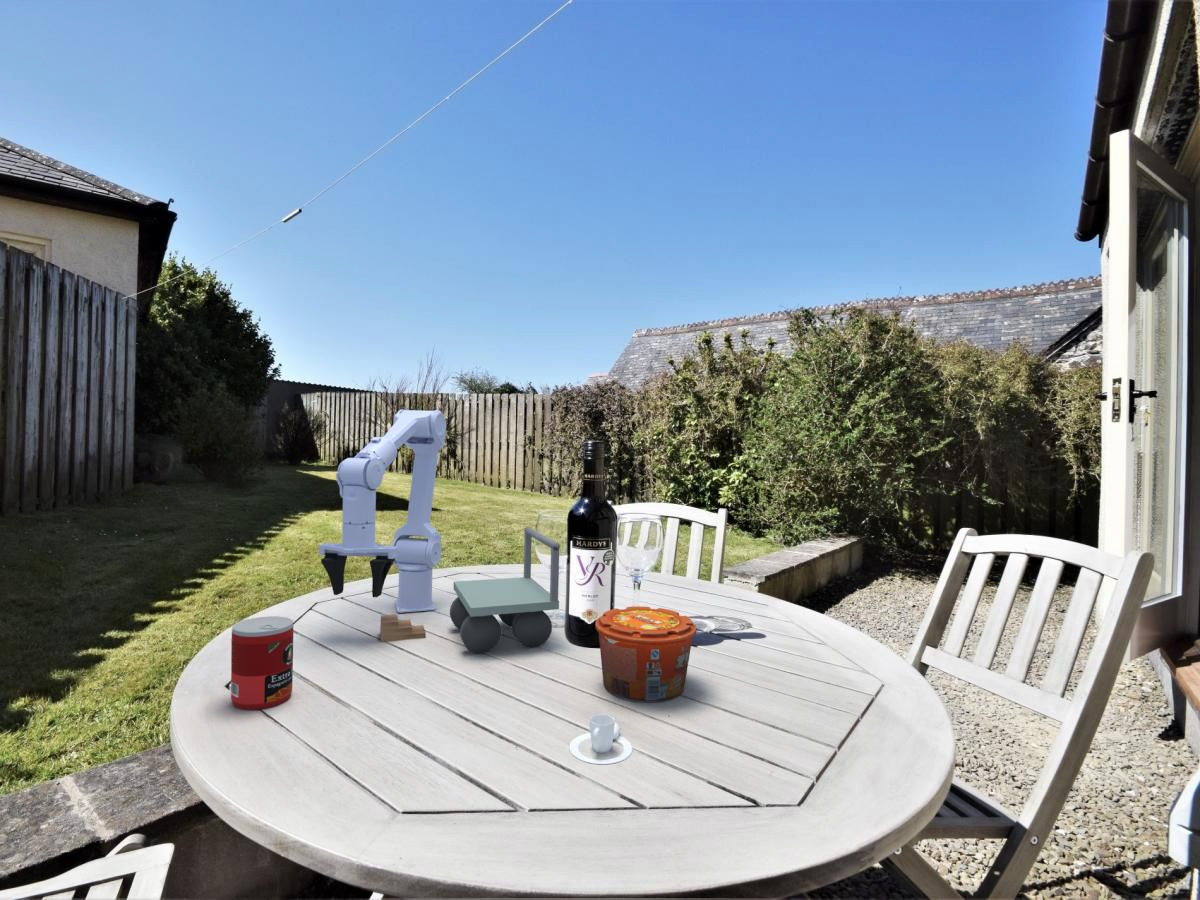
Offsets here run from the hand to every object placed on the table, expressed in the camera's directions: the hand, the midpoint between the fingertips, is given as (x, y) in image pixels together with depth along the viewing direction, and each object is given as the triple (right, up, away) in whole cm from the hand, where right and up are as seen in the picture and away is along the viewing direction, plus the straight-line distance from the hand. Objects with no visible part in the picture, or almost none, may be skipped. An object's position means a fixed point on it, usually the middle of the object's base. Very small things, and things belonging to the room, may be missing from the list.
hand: (357, 594), depth 115 cm
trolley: (+26, -9, +4) cm, 27 cm away
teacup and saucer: (+48, -11, -36) cm, 61 cm away
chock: (+7, -9, +3) cm, 12 cm away
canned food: (-4, -9, -26) cm, 28 cm away
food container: (+52, -11, -17) cm, 56 cm away
